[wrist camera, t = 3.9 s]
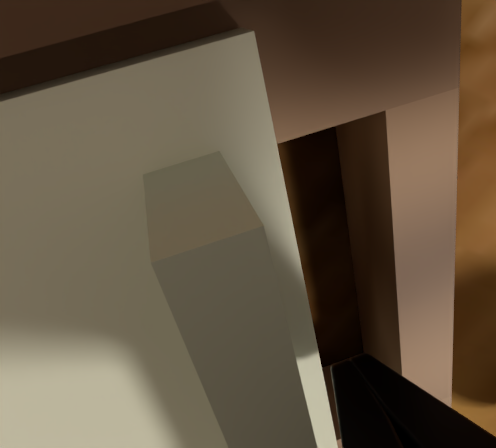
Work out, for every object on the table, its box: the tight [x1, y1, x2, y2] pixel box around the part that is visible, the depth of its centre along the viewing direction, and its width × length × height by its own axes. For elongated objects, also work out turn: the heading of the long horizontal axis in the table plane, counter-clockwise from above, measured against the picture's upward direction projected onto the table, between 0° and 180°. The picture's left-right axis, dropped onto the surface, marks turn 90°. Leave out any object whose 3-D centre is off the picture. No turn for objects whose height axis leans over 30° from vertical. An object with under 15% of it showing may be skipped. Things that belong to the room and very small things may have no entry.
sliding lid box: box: [0, 0, 461, 448], centre depth 10 cm, size 16×20×4 cm
